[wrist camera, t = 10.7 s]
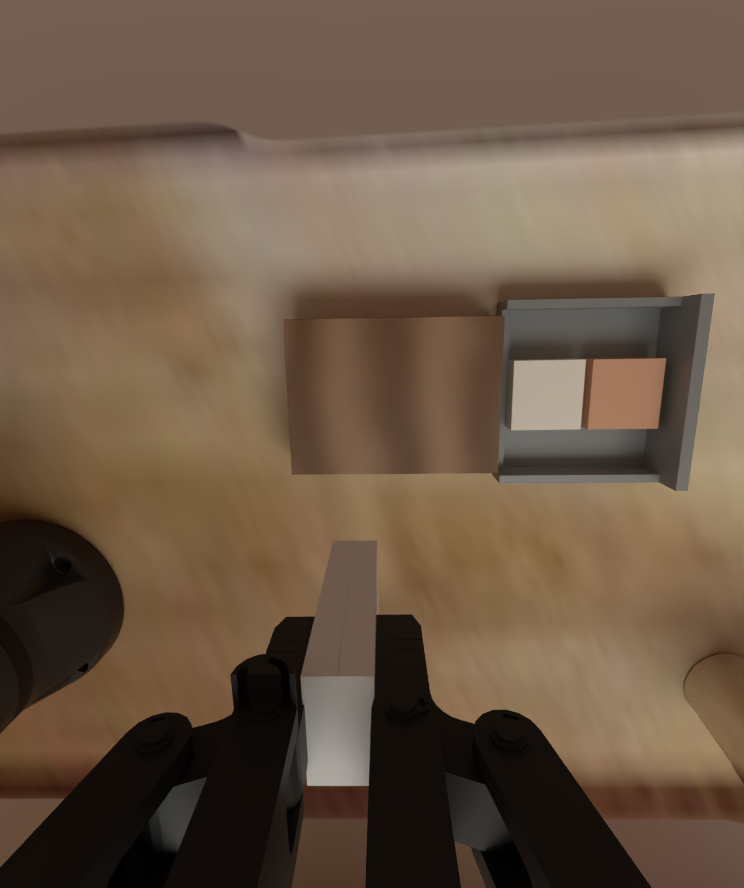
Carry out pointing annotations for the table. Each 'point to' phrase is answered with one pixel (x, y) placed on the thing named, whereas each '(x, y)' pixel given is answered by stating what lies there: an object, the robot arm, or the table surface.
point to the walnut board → (394, 394)
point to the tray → (609, 336)
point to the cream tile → (545, 394)
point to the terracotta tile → (622, 392)
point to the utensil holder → (720, 703)
